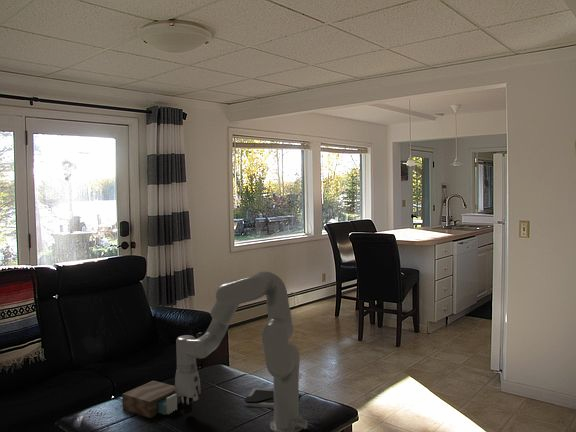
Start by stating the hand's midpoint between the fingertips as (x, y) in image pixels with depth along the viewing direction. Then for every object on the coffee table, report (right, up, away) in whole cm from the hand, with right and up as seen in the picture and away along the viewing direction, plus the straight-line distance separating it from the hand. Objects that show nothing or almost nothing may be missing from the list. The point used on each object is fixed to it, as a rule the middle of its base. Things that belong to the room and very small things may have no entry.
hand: (187, 412), depth 195 cm
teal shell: (-14, -1, +8) cm, 16 cm away
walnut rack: (-17, -1, +10) cm, 20 cm away
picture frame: (+33, -2, +15) cm, 36 cm away
